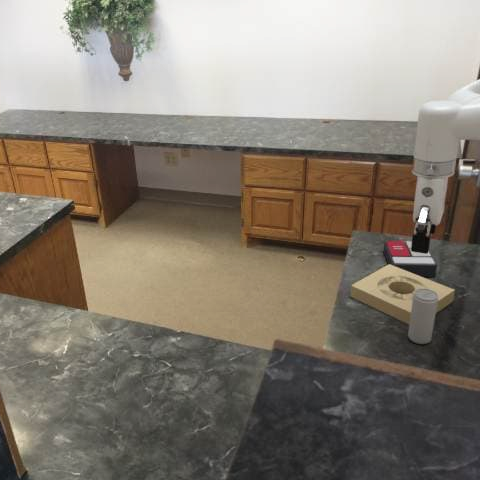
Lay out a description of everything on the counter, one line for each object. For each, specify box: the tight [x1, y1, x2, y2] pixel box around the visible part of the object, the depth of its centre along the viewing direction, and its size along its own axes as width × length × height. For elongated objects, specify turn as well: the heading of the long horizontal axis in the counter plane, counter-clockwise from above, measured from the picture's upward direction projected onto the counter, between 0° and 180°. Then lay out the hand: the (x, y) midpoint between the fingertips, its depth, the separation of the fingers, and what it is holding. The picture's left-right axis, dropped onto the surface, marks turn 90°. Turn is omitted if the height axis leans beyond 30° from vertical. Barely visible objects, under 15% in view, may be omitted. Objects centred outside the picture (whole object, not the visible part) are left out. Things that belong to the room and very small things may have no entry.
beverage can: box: [407, 289, 438, 345], centre depth 113 cm, size 5×5×12 cm
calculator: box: [383, 240, 438, 278], centre depth 144 cm, size 11×4×15 cm
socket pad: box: [349, 264, 456, 325], centre depth 129 cm, size 18×16×4 cm
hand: (423, 241), depth 109 cm, fingers open, 9 cm apart
